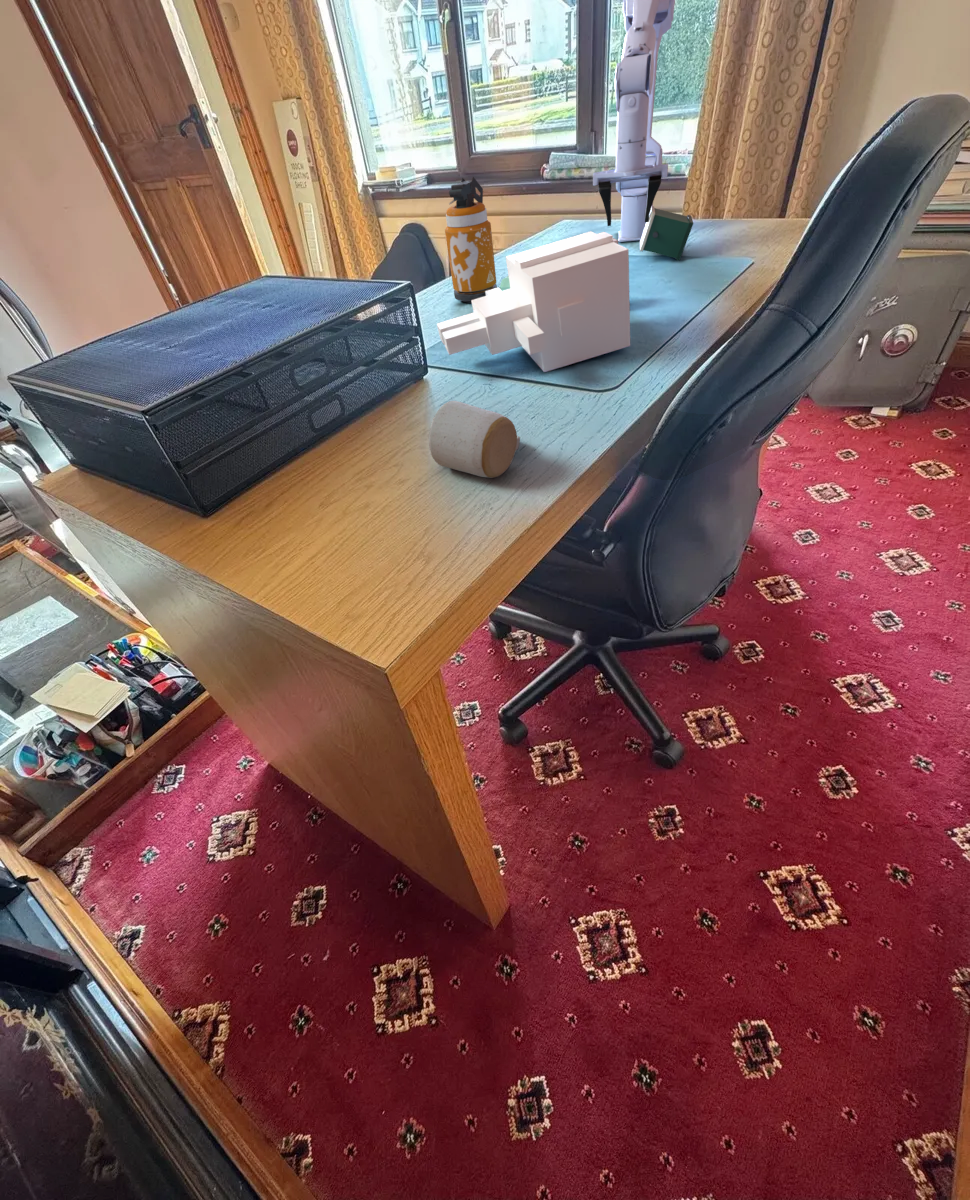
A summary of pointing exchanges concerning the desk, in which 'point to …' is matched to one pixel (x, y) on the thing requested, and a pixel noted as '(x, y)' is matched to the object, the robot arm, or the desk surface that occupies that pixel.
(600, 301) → the blocky voxel creature
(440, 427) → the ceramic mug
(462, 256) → the canister
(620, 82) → the robot arm
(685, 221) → the green and cream block
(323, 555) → the desk surface
